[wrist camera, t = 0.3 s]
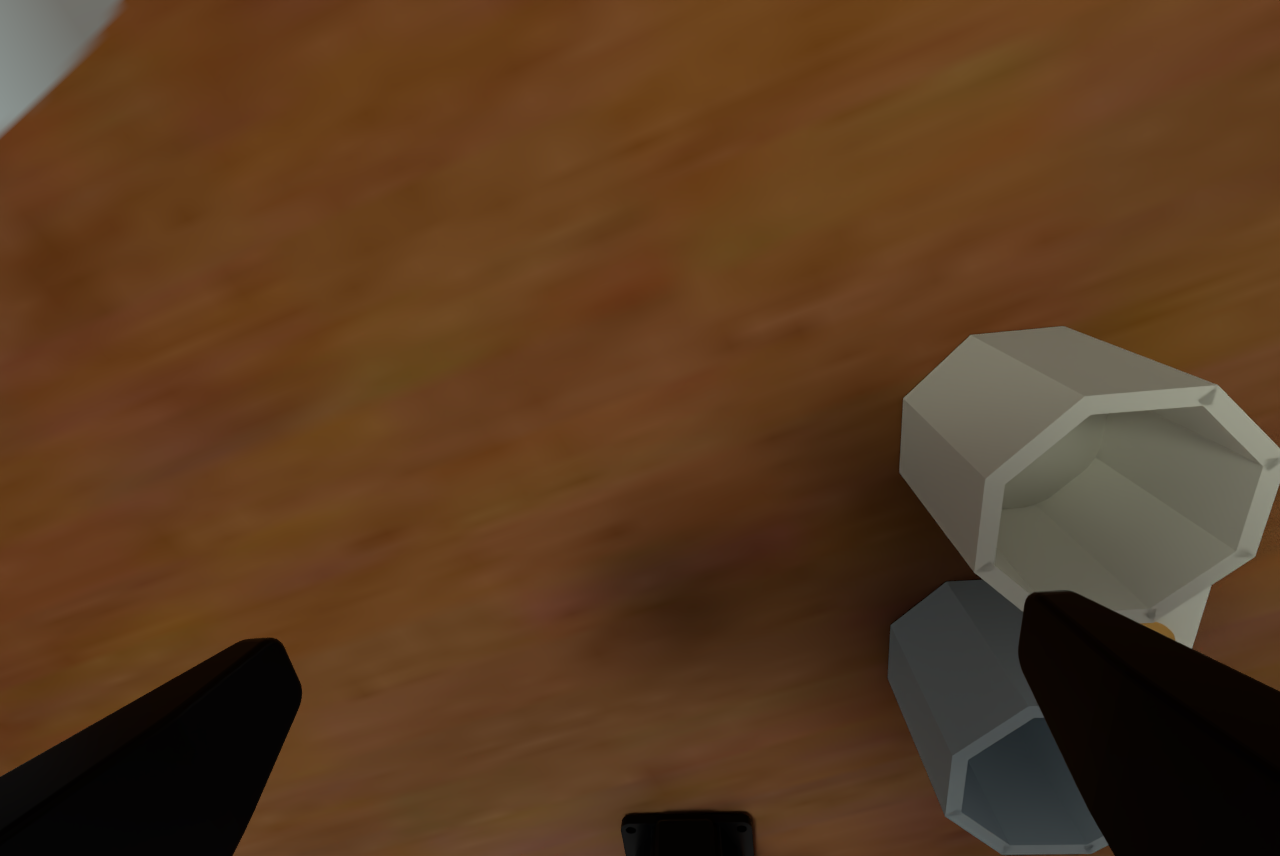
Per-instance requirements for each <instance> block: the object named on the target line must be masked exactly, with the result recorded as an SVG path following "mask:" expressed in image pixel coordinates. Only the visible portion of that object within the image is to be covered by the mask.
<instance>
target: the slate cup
mask: <svg viewBox="0 0 1280 856" xmlns="http://www.w3.org/2000/svg"><path fill="white" fill-rule="evenodd" d="M1022 617H1023V611H1021V610H1020V609H1019V608H1018V607H1016V606H1015V605H1014V604H1013V603H1011V602H1010V601H1009V600H1008V599H1006V598H1005V597H1004V596H1003V595H1001V594H1000V593H999V592H998V591H996V590H995V589H994V588H993V587H991V586H990V585H989V584H988V583H987V582H985V581H984V580H967V581H949V582H945V583H944V584H943V585H941V586H940V587H939V588H938V589H936V590H935V591H934V592H932V593H931V594H930V595H929V596H927V597H926V598H925V599H923V600H922V601H921V602H920V603H918V604H917V605H916V606H914V607H913V608H912V609H911V610H909V611H908V612H907V613H905V614H904V615H903V616H902V617H900V618H899V619H898V620H896V621H895V622H894V623H893V624H891V626H890V644H889V661H888V680H889V683H890V685H891V688H892V690H893V692H894V695H895V697H896V700H897V702H898V704H899V707H900V709H901V712H902V714H903V716H904V719H905V721H906V724H907V726H908V728H909V731H910V733H911V736H912V738H913V740H914V743H915V745H916V748H917V750H918V752H919V755H920V757H921V760H922V762H923V765H924V767H925V769H926V772H927V774H928V777H929V779H930V781H931V784H932V786H933V789H934V791H935V793H936V796H937V798H938V801H939V803H940V805H941V808H942V810H943V813H944V815H945V817H947V818H948V819H950V820H951V821H953V822H954V823H956V824H957V825H959V826H960V827H962V828H963V829H965V830H966V831H968V832H969V833H970V834H972V835H973V836H975V837H976V838H978V839H979V840H981V841H982V842H984V843H985V844H987V845H988V846H990V847H991V848H993V849H994V850H996V851H997V852H999V853H1000V854H1002V855H1029V854H1092V853H1094V852H1096V851H1098V850H1100V849H1101V848H1103V847H1105V846H1107V845H1108V843H1107V842H1106V840H1105V838H1104V836H1103V835H1102V833H1101V831H1100V829H1099V828H1098V826H1097V824H1096V822H1095V821H1094V819H1093V817H1092V815H1091V814H1090V812H1089V810H1088V808H1087V806H1086V804H1085V802H1084V800H1083V798H1082V796H1081V794H1080V792H1079V790H1078V788H1077V786H1076V784H1075V782H1074V779H1073V777H1072V775H1071V773H1070V771H1069V769H1068V767H1067V765H1066V763H1065V761H1064V758H1063V756H1062V754H1061V752H1060V750H1059V748H1058V746H1057V744H1056V742H1055V739H1054V737H1053V735H1052V733H1051V731H1050V729H1049V727H1048V725H1047V723H1046V721H1045V718H1044V716H1043V714H1042V712H1041V710H1040V708H1039V706H1038V704H1037V702H1036V699H1035V697H1034V695H1033V693H1032V691H1031V689H1030V687H1029V685H1028V683H1027V681H1026V678H1025V676H1024V674H1023V672H1022V669H1021V666H1020V663H1019V658H1018V644H1019V637H1020V630H1021V623H1022Z"/></svg>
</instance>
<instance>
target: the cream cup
mask: <svg viewBox="0 0 1280 856" xmlns="http://www.w3.org/2000/svg"><path fill="white" fill-rule="evenodd" d="M899 473H900V474H901V476H902V477H903V478H904V480H905V481H906V482H907V484H908V485H909V486H910V488H911V489H912V490H913V492H914V493H915V494H916V496H917V497H918V498H919V500H920V501H921V502H922V504H923V505H924V506H925V508H926V509H927V510H928V512H929V513H930V514H931V516H932V517H933V518H934V520H935V521H936V522H937V524H938V525H939V526H940V528H941V529H942V530H943V532H944V533H945V534H946V536H947V537H948V538H949V540H950V541H951V542H952V544H953V545H954V546H955V548H956V549H957V550H958V552H959V553H960V554H961V556H962V557H963V558H964V560H965V561H966V562H967V564H968V565H969V566H970V568H971V569H972V570H973V572H974V573H975V574H977V575H978V576H979V577H980V578H982V579H983V580H984V581H985V582H987V583H988V584H989V585H990V586H991V587H993V588H994V589H995V590H996V591H998V592H999V593H1000V594H1001V595H1003V596H1004V597H1005V598H1006V599H1008V600H1009V601H1010V602H1011V603H1013V604H1014V605H1015V606H1016V607H1018V608H1019V609H1020V610H1021V611H1023V610H1024V604H1025V600H1026V598H1027V597H1028V595H1030V594H1031V593H1033V592H1039V591H1055V590H1069V591H1073V592H1076V593H1078V594H1080V595H1082V596H1084V597H1086V598H1088V599H1090V600H1092V601H1095V602H1097V603H1099V604H1101V605H1103V606H1105V607H1107V608H1109V609H1111V610H1113V611H1115V612H1117V613H1119V614H1121V615H1123V616H1125V617H1127V618H1129V619H1132V620H1134V621H1136V622H1138V623H1154V622H1156V621H1157V620H1159V619H1160V618H1162V617H1163V616H1165V615H1166V614H1168V613H1169V612H1171V611H1172V610H1174V609H1176V608H1177V607H1179V606H1180V605H1182V604H1183V603H1185V602H1186V601H1188V600H1189V599H1191V598H1192V597H1194V596H1196V595H1197V594H1199V593H1200V592H1202V591H1203V590H1205V589H1206V588H1208V587H1209V586H1211V585H1212V584H1214V583H1215V582H1217V581H1219V580H1220V579H1222V578H1223V577H1225V576H1226V575H1228V574H1229V573H1231V572H1232V571H1234V570H1235V569H1237V568H1239V567H1240V566H1242V565H1243V564H1245V563H1246V562H1248V561H1249V560H1251V559H1252V558H1254V557H1255V555H1256V552H1257V549H1258V546H1259V543H1260V540H1261V537H1262V534H1263V531H1264V528H1265V525H1266V523H1267V520H1268V517H1269V514H1270V511H1271V508H1272V505H1273V502H1274V499H1275V496H1276V493H1277V490H1278V487H1279V484H1280V448H1279V447H1278V446H1277V445H1276V444H1275V443H1274V442H1273V441H1272V440H1271V439H1270V438H1269V437H1268V436H1267V435H1266V434H1265V433H1264V432H1263V431H1262V430H1261V429H1260V428H1259V427H1258V426H1257V425H1256V424H1255V423H1254V422H1253V421H1252V419H1251V418H1250V417H1249V416H1248V415H1247V414H1246V413H1245V412H1244V411H1243V410H1242V409H1241V408H1240V407H1239V406H1238V405H1237V404H1236V403H1235V402H1234V401H1233V400H1232V399H1231V398H1230V397H1229V396H1228V395H1227V394H1226V393H1225V392H1224V391H1223V390H1222V389H1221V388H1220V387H1219V386H1218V385H1216V384H1214V383H1211V382H1209V381H1206V380H1203V379H1201V378H1198V377H1195V376H1193V375H1190V374H1188V373H1185V372H1182V371H1180V370H1177V369H1175V368H1172V367H1169V366H1167V365H1164V364H1161V363H1159V362H1156V361H1154V360H1151V359H1148V358H1146V357H1143V356H1141V355H1138V354H1135V353H1133V352H1130V351H1127V350H1125V349H1122V348H1120V347H1117V346H1114V345H1112V344H1109V343H1107V342H1104V341H1101V340H1099V339H1096V338H1093V337H1091V336H1088V335H1086V334H1083V333H1080V332H1078V331H1075V330H1072V329H1070V328H1067V327H1065V326H1059V327H1049V328H1038V329H1028V330H1017V331H1007V332H997V333H986V334H976V335H970V336H969V337H968V338H967V339H966V340H965V341H964V342H963V343H962V344H960V345H959V346H958V347H957V348H956V349H955V350H954V351H953V352H952V353H951V354H950V355H949V356H948V357H947V358H946V359H945V360H943V361H942V362H941V363H940V364H939V365H938V366H937V367H936V368H935V369H934V370H933V371H932V372H931V373H930V374H929V375H928V376H926V377H925V378H924V379H923V380H922V381H921V382H920V383H919V384H918V385H917V386H916V387H915V388H914V389H913V390H912V391H911V392H909V393H908V394H907V395H906V396H905V397H904V398H903V412H902V429H901V447H900V465H899Z"/></svg>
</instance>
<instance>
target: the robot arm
mask: <svg viewBox="0 0 1280 856" xmlns="http://www.w3.org/2000/svg"><path fill="white" fill-rule="evenodd" d="M1018 658H1019V663H1020V666H1021V669H1022V672H1023V674H1024V676H1025V678H1026V681H1027V683H1028V685H1029V687H1030V689H1031V691H1032V693H1033V695H1034V697H1035V699H1036V702H1037V704H1038V706H1039V708H1040V710H1041V712H1042V714H1043V716H1044V718H1045V721H1046V723H1047V725H1048V727H1049V729H1050V731H1051V733H1052V735H1053V737H1054V739H1055V742H1056V744H1057V746H1058V748H1059V750H1060V752H1061V754H1062V756H1063V758H1064V761H1065V763H1066V765H1067V767H1068V769H1069V771H1070V773H1071V775H1072V777H1073V779H1074V782H1075V784H1076V786H1077V788H1078V790H1079V792H1080V794H1081V796H1082V798H1083V800H1084V802H1085V804H1086V806H1087V808H1088V810H1089V812H1090V814H1091V815H1092V817H1093V819H1094V821H1095V822H1096V824H1097V826H1098V828H1099V829H1100V831H1101V833H1102V835H1103V836H1104V838H1105V840H1106V842H1107V843H1108V845H1109V847H1110V848H1111V850H1112V852H1113V853H1114V855H1115V856H1280V691H1278V690H1276V689H1274V688H1272V687H1269V686H1267V685H1265V684H1263V683H1261V682H1259V681H1257V680H1255V679H1253V678H1251V677H1249V676H1247V675H1245V674H1243V673H1241V672H1239V671H1237V670H1234V669H1232V668H1230V667H1228V666H1226V665H1224V664H1222V663H1220V662H1218V661H1216V660H1214V659H1212V658H1210V657H1208V656H1206V655H1204V654H1202V653H1199V652H1197V651H1195V650H1193V649H1191V648H1189V647H1187V646H1185V645H1183V644H1181V643H1179V642H1177V641H1175V640H1173V639H1171V638H1169V637H1167V636H1164V635H1162V634H1160V633H1158V632H1156V631H1154V630H1152V629H1150V628H1148V627H1146V626H1144V625H1142V624H1140V623H1138V622H1136V621H1134V620H1132V619H1129V618H1127V617H1125V616H1123V615H1121V614H1119V613H1117V612H1115V611H1113V610H1111V609H1109V608H1107V607H1105V606H1103V605H1101V604H1099V603H1097V602H1095V601H1092V600H1090V599H1088V598H1086V597H1084V596H1082V595H1080V594H1078V593H1076V592H1073V591H1069V590H1055V591H1039V592H1033V593H1031V594H1030V595H1028V597H1027V598H1026V600H1025V604H1024V610H1023V617H1022V623H1021V630H1020V637H1019V644H1018ZM301 698H302V688H301V684H300V681H299V679H298V677H297V674H296V672H295V670H294V668H293V665H292V663H291V661H290V659H289V657H288V654H287V652H286V650H285V648H284V646H283V644H282V643H281V642H280V641H279V640H277V639H274V638H256V639H246V640H242V641H239V642H237V643H235V644H234V645H232V646H230V647H228V648H227V649H225V650H223V651H221V652H220V653H218V654H216V655H214V656H212V657H211V658H209V659H207V660H205V661H204V662H202V663H200V664H198V665H197V666H195V667H193V668H191V669H190V670H188V671H186V672H184V673H183V674H181V675H179V676H177V677H175V678H174V679H172V680H170V681H168V682H167V683H165V684H163V685H161V686H160V687H158V688H156V689H154V690H153V691H151V692H149V693H147V694H146V695H144V696H142V697H140V698H139V699H137V700H135V701H133V702H131V703H130V704H128V705H126V706H124V707H123V708H121V709H119V710H117V711H116V712H114V713H112V714H110V715H109V716H107V717H105V718H103V719H102V720H100V721H98V722H96V723H94V724H93V725H91V726H89V727H87V728H86V729H84V730H82V731H80V732H79V733H77V734H75V735H73V736H72V737H70V738H68V739H66V740H65V741H63V742H61V743H59V744H57V745H56V746H54V747H52V748H50V749H49V750H47V751H45V752H43V753H42V754H40V755H38V756H36V757H35V758H33V759H31V760H29V761H28V762H26V763H24V764H22V765H20V766H19V767H17V768H15V769H13V770H12V771H10V772H8V773H6V774H5V775H3V776H1V777H0V856H233V854H234V852H235V850H236V848H237V846H238V844H239V842H240V840H241V838H242V836H243V834H244V832H245V830H246V828H247V825H248V823H249V821H250V819H251V817H252V815H253V812H254V810H255V808H256V806H257V803H258V801H259V799H260V796H261V794H262V792H263V789H264V787H265V785H266V783H267V780H268V778H269V776H270V773H271V771H272V769H273V766H274V764H275V762H276V760H277V757H278V755H279V753H280V750H281V748H282V746H283V743H284V741H285V739H286V737H287V734H288V732H289V730H290V727H291V725H292V723H293V720H294V718H295V716H296V713H297V711H298V709H299V706H300V703H301ZM621 833H622V838H623V843H624V848H625V853H626V856H754V850H753V836H752V824H751V819H750V817H749V816H747V815H745V814H707V815H647V816H626V817H624V818H623V819H622V825H621Z"/></svg>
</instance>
